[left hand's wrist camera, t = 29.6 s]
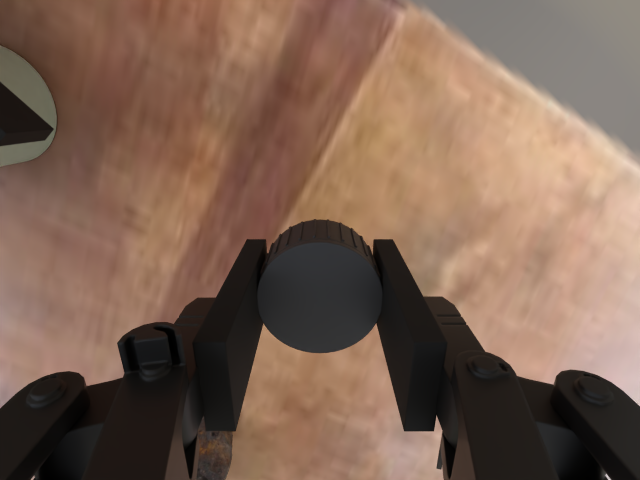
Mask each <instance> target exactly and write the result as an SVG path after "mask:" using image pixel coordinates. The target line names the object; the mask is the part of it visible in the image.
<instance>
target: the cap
mask: <svg viewBox="0 0 640 480" xmlns="http://www.w3.org/2000/svg"><path fill="white" fill-rule="evenodd" d="M259 276H261V277H260V280H259V283H258V287H257V298H258V311H259V315H260V317H261V319H262V321H263V323H264V324H265V326H266V328H267V329H268V330H269V331H270V332H271V333H272V334H273V335H274V336H275V337H276V338H277V339H278V340H280V341H281V342H283V343H284V344H286V345H288V346H290V347H292V348H295V349H298V350H301V351H305V352H311V353H329V352H335V351H339V350H342V349H345V348H347V347H350V346H352V345H354V344H355V343H357V342H358V341H360V340H361V339H363V338H364V337H365V336H366V335H367V334H368V333H369V332H370V331H371V330H372V328H373V327H374V325H375V324H376V322H377V320H378V318H379V316H380V314H381V309H382V295H383V289H382V285H381V281H380V279H381V276H380V273H379V270H378V267H377V264H376V261H375V258H374V256H373V255H372V252H371V249H370V246H369V245H368V246H367V244H366V243H365V241H364V240H363V237H362V236H360V235H358V234H357V233H356V232H355V231H354V230H353V229H352V228H349V227H347V226H345V225H343V224H342V223H337V222H334V221H329V220H316V219H314V220H311V221H306V222H301V223H299V224H297V225H295V226H293V227H289V229H288V230H286V231H285V232H284V233H282V234H280V235H279V237H278V238H277V240H276V241H275V242H274V243H272V245H271V247H270V250H269V253H267V255H266V258H265V260H264V263H263V266H262V269H261V272H260V275H259Z"/></svg>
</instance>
